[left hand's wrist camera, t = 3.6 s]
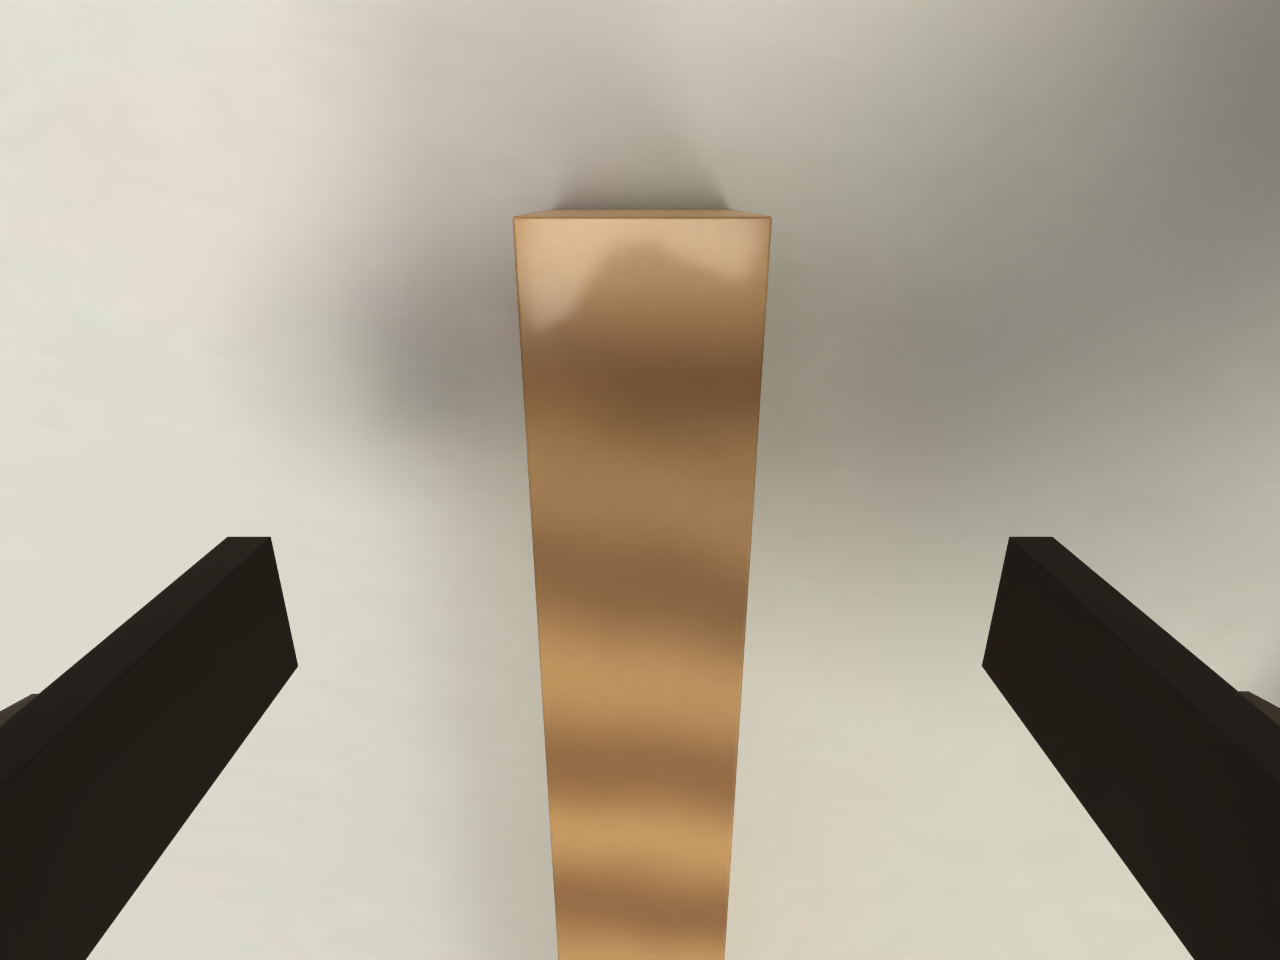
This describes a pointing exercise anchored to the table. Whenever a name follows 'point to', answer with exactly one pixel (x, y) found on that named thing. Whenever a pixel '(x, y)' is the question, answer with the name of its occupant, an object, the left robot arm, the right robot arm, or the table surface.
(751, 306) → the bar
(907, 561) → the table surface
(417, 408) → the table surface
